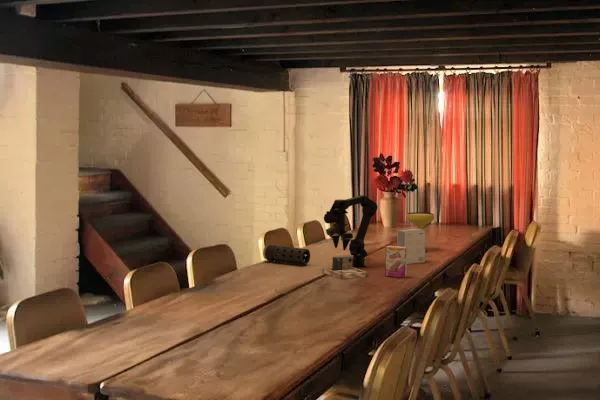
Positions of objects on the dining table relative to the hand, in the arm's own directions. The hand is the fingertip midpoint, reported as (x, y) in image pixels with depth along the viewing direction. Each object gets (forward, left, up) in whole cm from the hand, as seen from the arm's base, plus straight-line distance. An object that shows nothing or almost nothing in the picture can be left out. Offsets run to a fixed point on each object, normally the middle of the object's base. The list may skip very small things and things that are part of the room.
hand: (340, 249), depth 424 cm
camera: (+5, +11, -12) cm, 17 cm away
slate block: (+5, +20, -12) cm, 24 cm away
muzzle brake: (+20, -29, -12) cm, 38 cm away
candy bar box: (-18, +31, -12) cm, 37 cm away
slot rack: (+5, +15, -12) cm, 20 cm away
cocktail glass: (-82, -38, -12) cm, 91 cm away
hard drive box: (-51, -3, -12) cm, 52 cm away
